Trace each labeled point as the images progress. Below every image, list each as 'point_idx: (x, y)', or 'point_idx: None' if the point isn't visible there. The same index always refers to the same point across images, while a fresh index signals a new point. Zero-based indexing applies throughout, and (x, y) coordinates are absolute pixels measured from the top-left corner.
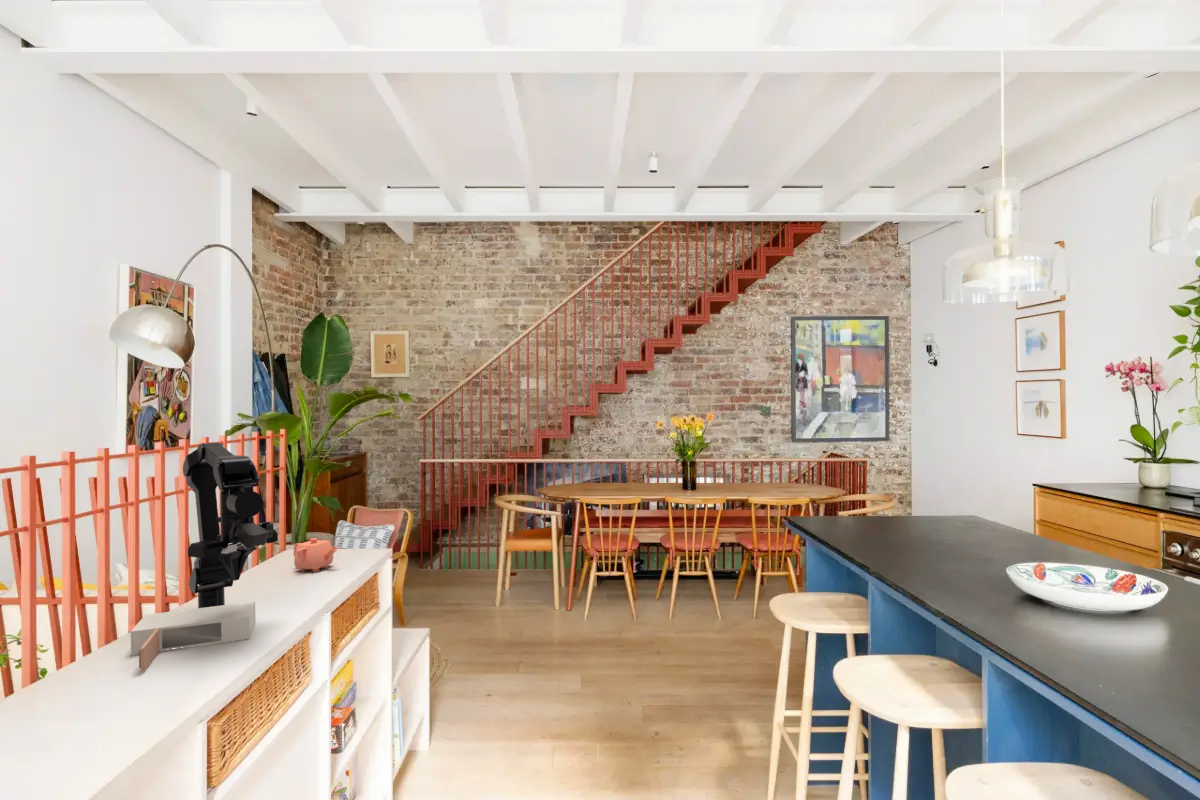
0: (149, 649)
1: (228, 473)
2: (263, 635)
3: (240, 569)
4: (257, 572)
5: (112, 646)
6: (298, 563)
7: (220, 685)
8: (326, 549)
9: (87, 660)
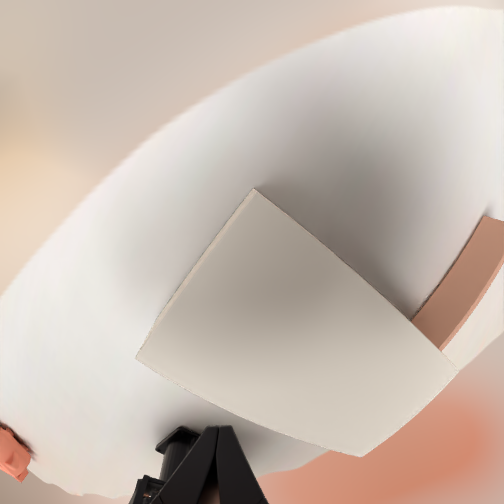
0: (484, 259)
1: None
2: (208, 179)
3: (193, 474)
4: (76, 487)
5: None
6: (24, 457)
7: (436, 16)
8: None
9: None
